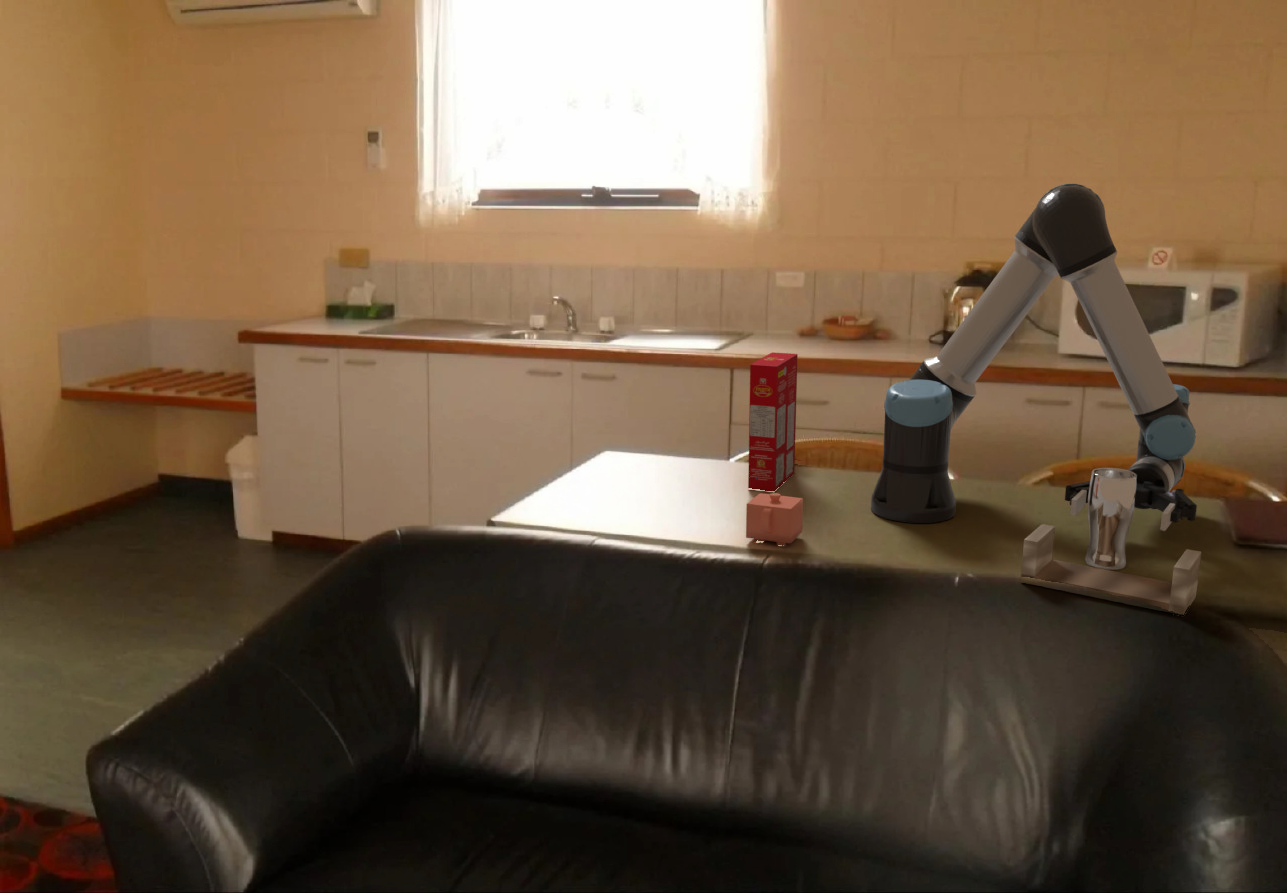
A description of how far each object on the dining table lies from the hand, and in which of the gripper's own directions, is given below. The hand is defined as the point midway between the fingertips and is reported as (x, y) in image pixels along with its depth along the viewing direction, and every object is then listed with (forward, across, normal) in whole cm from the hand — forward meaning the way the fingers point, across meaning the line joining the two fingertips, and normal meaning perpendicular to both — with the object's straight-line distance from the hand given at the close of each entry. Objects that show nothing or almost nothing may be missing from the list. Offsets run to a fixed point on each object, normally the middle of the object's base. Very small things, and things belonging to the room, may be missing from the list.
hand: (1117, 514), depth 180 cm
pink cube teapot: (+20, +50, -8) cm, 55 cm away
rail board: (+13, -2, -8) cm, 15 cm away
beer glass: (+2, +1, -8) cm, 8 cm away
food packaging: (-11, +68, -8) cm, 69 cm away
